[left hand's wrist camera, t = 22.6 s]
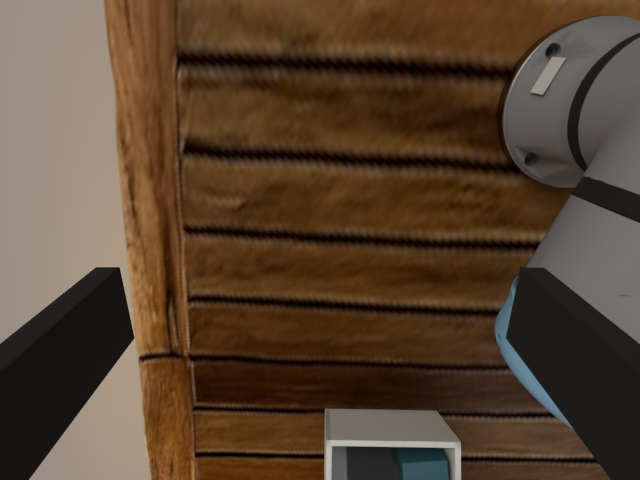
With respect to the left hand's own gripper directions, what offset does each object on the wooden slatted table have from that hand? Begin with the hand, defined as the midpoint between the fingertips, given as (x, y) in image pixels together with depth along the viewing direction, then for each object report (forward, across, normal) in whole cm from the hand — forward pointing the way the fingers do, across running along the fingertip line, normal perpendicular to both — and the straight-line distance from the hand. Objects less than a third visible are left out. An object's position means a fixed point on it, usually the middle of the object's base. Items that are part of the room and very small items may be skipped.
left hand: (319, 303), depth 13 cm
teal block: (+22, -10, +32) cm, 40 cm away
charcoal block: (+21, -5, +30) cm, 37 cm away
